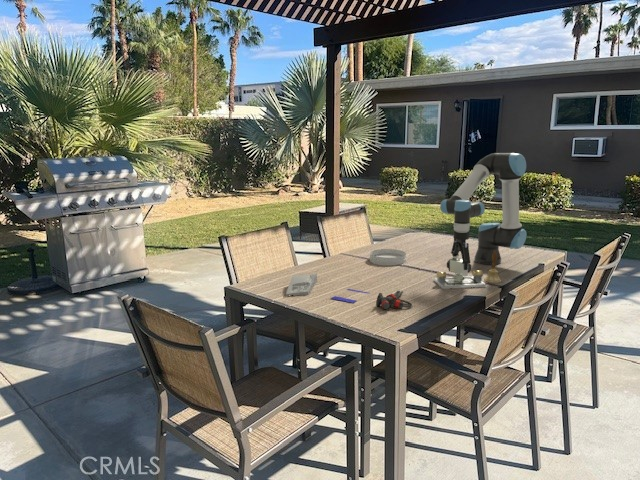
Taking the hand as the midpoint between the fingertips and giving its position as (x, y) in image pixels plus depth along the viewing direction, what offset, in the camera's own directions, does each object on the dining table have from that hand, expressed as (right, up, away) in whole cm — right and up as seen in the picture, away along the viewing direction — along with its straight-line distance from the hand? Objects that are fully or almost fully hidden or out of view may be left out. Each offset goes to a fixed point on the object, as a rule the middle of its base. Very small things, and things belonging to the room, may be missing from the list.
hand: (459, 272), depth 244 cm
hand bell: (+19, -5, +6) cm, 20 cm away
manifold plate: (0, -6, +1) cm, 6 cm away
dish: (-30, +3, +49) cm, 58 cm away
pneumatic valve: (0, -5, +1) cm, 5 cm away
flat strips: (-55, -10, -11) cm, 57 cm away
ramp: (-80, -9, -1) cm, 81 cm away
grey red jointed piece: (-36, -13, -25) cm, 45 cm away
